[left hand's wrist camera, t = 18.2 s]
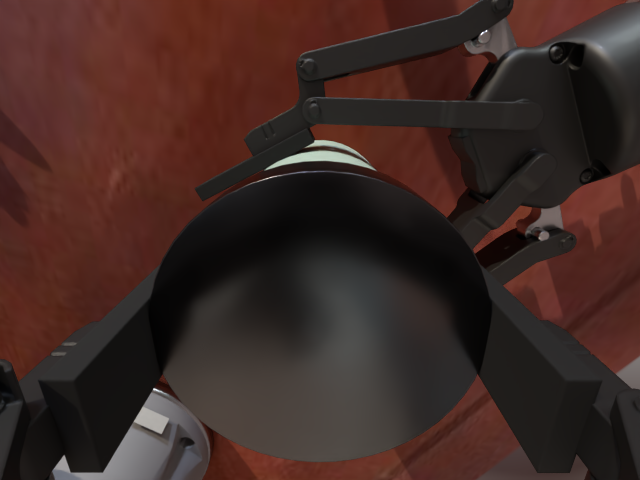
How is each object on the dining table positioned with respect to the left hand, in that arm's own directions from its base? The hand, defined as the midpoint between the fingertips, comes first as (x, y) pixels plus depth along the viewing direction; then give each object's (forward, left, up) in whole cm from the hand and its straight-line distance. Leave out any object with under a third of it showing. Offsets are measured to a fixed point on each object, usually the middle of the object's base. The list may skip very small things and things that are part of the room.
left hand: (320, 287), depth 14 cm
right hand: (-4, +3, -7) cm, 8 cm away
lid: (0, 0, +3) cm, 3 cm away
